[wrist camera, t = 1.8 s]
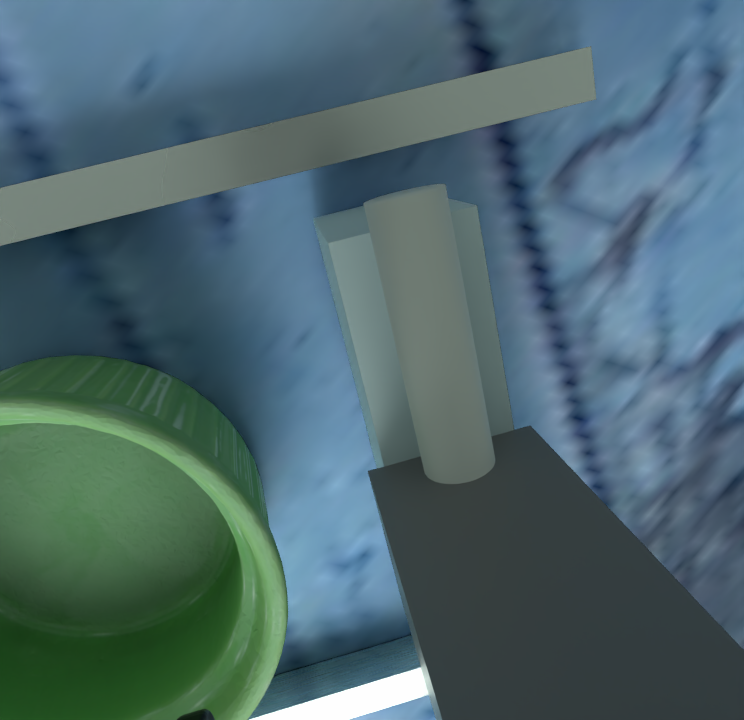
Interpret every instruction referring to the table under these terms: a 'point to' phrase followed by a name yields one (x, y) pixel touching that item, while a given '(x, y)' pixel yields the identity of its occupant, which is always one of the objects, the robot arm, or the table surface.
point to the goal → (276, 159)
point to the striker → (500, 501)
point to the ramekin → (130, 549)
